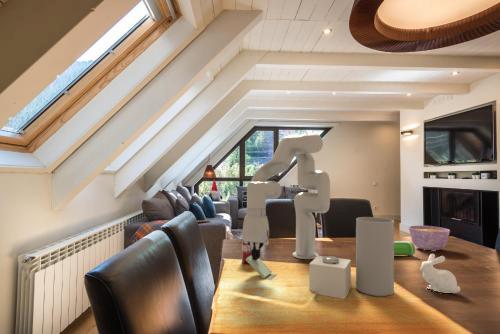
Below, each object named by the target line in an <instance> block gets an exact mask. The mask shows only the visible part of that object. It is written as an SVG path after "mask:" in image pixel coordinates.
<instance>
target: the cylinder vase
mask: <svg viewBox="0 0 500 334" xmlns="http://www.w3.org/2000/svg"><path fill="white" fill-rule="evenodd" d="M355 220H356V221H355V222H356V223H355V244H356V245H355V288H356V289H357V290H358V291H359V292H361V293H363V294H365V295H368V296H372V295H373V296H372V297H374V296H375V297H388V295H389V296H391V295H393V294H394V292H395V257H394V241H395V220H393V219H390V218H385V217H376V216H375V217H374V216H373V217H371V216H362V217H361V216H360V217H356V219H355Z"/></svg>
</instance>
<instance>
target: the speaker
mask: <svg viewBox="0 0 500 334" xmlns="http://www.w3.org/2000/svg"><path fill="white" fill-rule="evenodd" d="M415 253H416V248H415V245H414V244H413V242H411V241H408V240H394V255H411V256H413V255H415Z"/></svg>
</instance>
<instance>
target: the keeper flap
mask: <svg viewBox="0 0 500 334" xmlns="http://www.w3.org/2000/svg"><path fill="white" fill-rule="evenodd" d="M246 261H247V262H248V263H249V264H250V265H249V266H251V267H252V268H253V270H254V271H255V272H256V273H257V274H258V275H259V276H260V277H261V278H262V279H265V278H268V277H269V276H270V275H272V274H273V271H272V270H271V269H270V268H269V267H268V265H267V264H266V263H264V261H263V260H262V259H261V258H260V257H259V259H257V260H255V259H254V260H253V259H252V255H251V256H249V257H247V258H246Z"/></svg>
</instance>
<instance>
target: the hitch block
mask: <svg viewBox="0 0 500 334" xmlns="http://www.w3.org/2000/svg"><path fill="white" fill-rule="evenodd" d="M323 257H325V256H321V255H318V256H317V257H316V258H315V259H312V261H310V263H308V264H309V270H308V271H309V274H308V276H309V277H308V279H309V280H308V282H309V283H308V285H309V286H308V287H309V289H308V290H309V291H313V294H315V295H319V296H325V297H331V298H337V299H342V300H345V299H346V298H347V296H348V294H349V292H350V289H351V288H352V287H351V285H352V283H351V282H352V281H351V279H352V274H351V273H352V259H348V258H347V259H346V258H340V257H338V258H339V263H337V264H328V263H324V262H323V261H322V258H323Z"/></svg>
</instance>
